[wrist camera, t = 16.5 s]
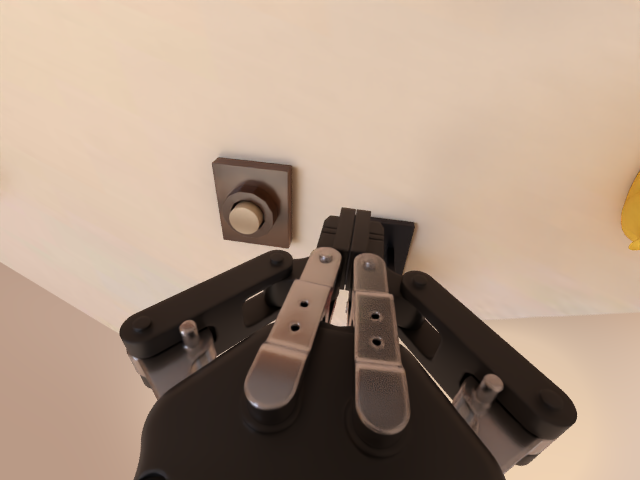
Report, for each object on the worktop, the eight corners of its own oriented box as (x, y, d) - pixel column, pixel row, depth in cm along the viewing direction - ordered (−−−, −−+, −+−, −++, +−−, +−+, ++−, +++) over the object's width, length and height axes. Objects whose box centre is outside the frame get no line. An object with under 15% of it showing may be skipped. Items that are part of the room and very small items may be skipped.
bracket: (347, 213, 44) (335, 277, 33) (414, 222, 43) (424, 290, 32) (340, 278, 51) (328, 348, 40) (397, 287, 50) (401, 361, 39)
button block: (218, 157, 42) (204, 168, 39) (291, 165, 41) (283, 177, 38) (228, 232, 49) (217, 247, 46) (292, 241, 48) (285, 257, 45)
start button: (232, 199, 41) (227, 205, 40) (262, 203, 41) (258, 209, 39) (235, 225, 44) (230, 232, 42) (264, 229, 43) (260, 236, 42)
